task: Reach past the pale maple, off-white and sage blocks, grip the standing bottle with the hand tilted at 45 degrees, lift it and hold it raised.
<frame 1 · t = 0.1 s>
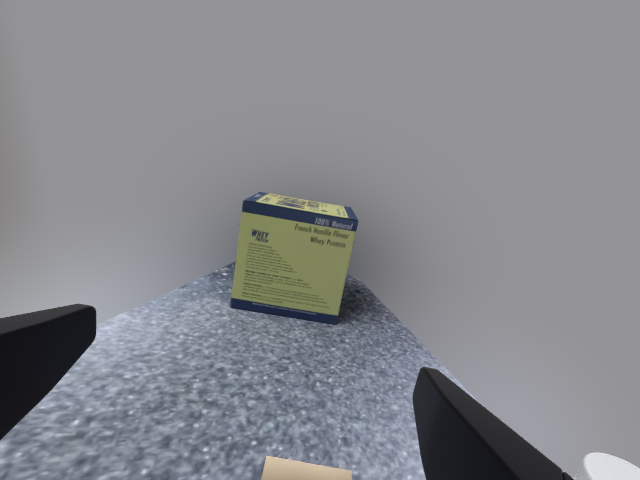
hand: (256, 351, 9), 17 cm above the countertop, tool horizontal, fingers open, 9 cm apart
protein box: (287, 302, 49), on the countertop
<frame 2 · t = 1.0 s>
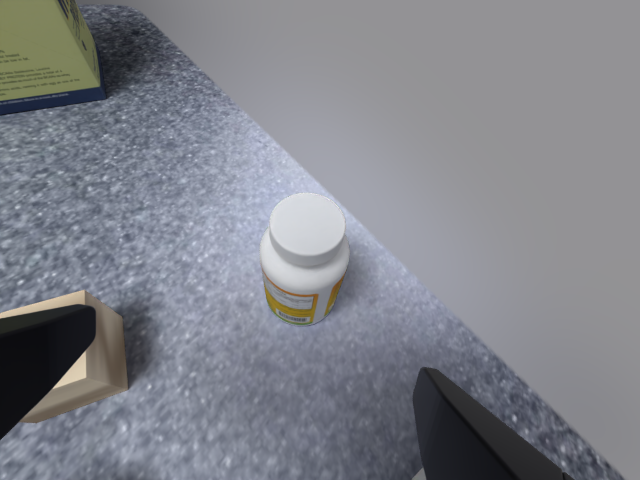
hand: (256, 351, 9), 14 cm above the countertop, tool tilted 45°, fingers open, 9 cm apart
protein box: (28, 85, 35), on the countertop
maple block: (83, 365, 20), on the countertop
supplement bottle: (300, 294, 25), on the countertop
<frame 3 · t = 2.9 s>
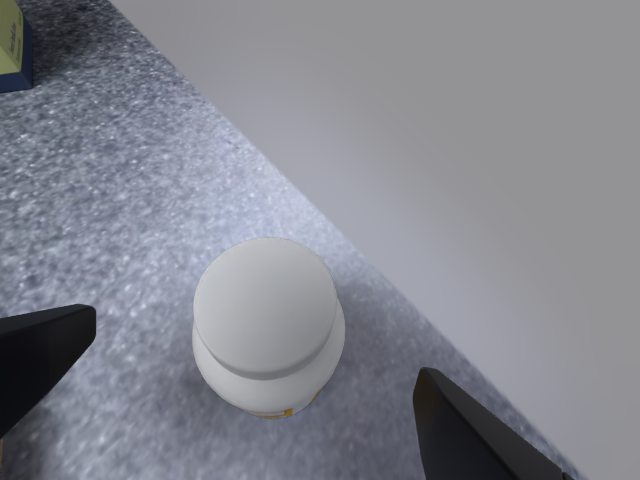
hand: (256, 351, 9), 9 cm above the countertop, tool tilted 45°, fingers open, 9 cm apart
supplement bottle: (276, 362, 17), on the countertop
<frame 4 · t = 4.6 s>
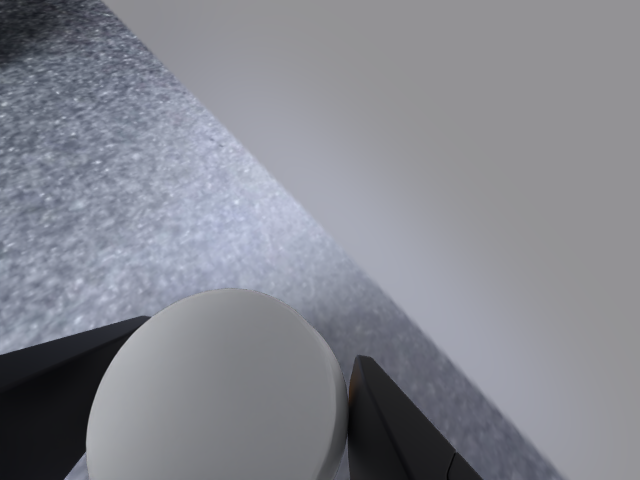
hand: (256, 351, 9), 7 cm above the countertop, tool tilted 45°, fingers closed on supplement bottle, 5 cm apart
supplement bottle: (261, 416, 14), on the countertop, touching gripper
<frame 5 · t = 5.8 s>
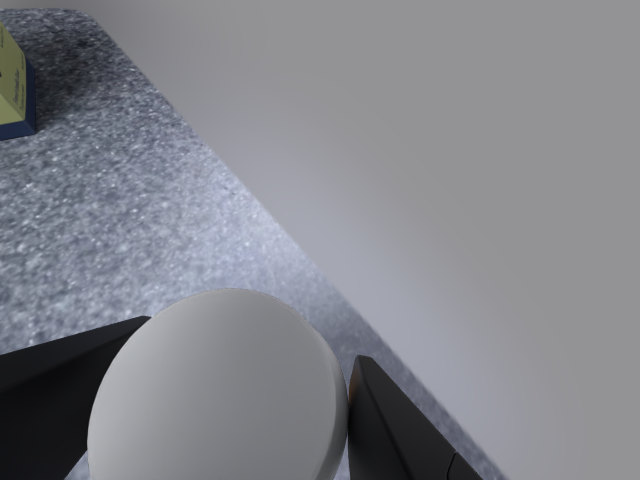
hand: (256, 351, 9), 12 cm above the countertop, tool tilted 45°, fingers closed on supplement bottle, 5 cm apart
supplement bottle: (261, 416, 14), point 5 cm above the countertop, touching gripper
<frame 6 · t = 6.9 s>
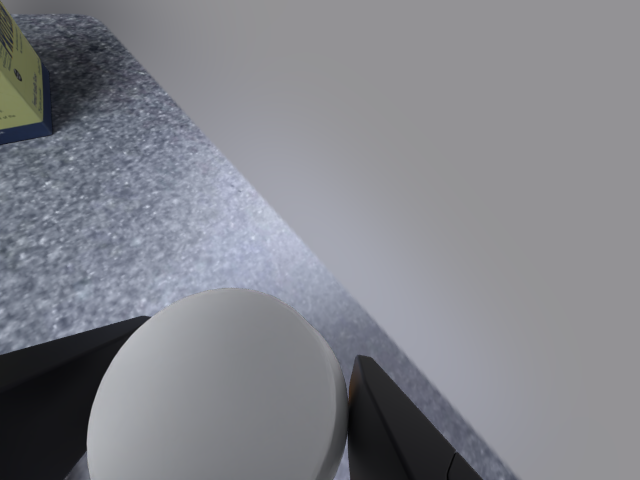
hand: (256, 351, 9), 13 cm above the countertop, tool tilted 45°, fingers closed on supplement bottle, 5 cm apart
supplement bottle: (261, 416, 14), point 6 cm above the countertop, touching gripper
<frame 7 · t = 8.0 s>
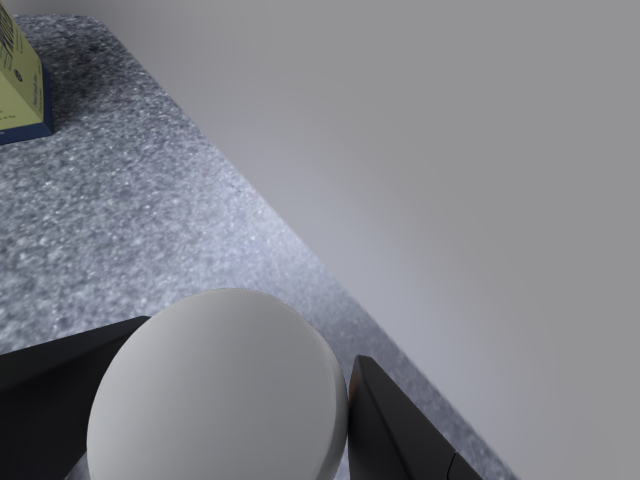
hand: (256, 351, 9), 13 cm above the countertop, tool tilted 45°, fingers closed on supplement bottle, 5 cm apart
supplement bottle: (261, 416, 14), point 6 cm above the countertop, touching gripper
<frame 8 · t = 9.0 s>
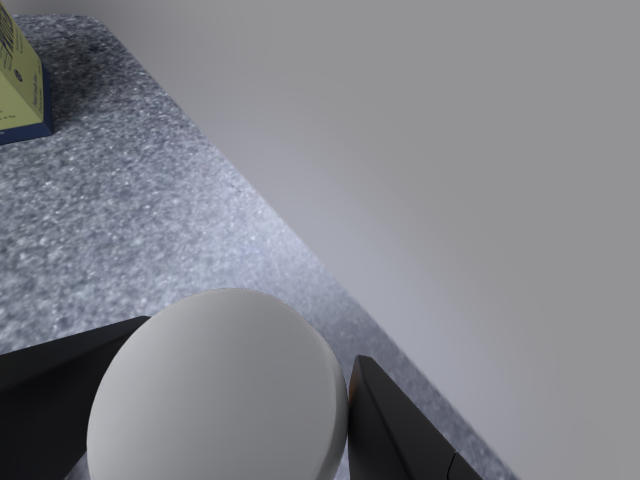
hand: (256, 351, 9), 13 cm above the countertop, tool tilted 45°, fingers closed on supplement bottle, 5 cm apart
supplement bottle: (261, 416, 14), point 6 cm above the countertop, touching gripper
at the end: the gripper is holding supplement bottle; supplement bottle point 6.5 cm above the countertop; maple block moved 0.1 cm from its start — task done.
